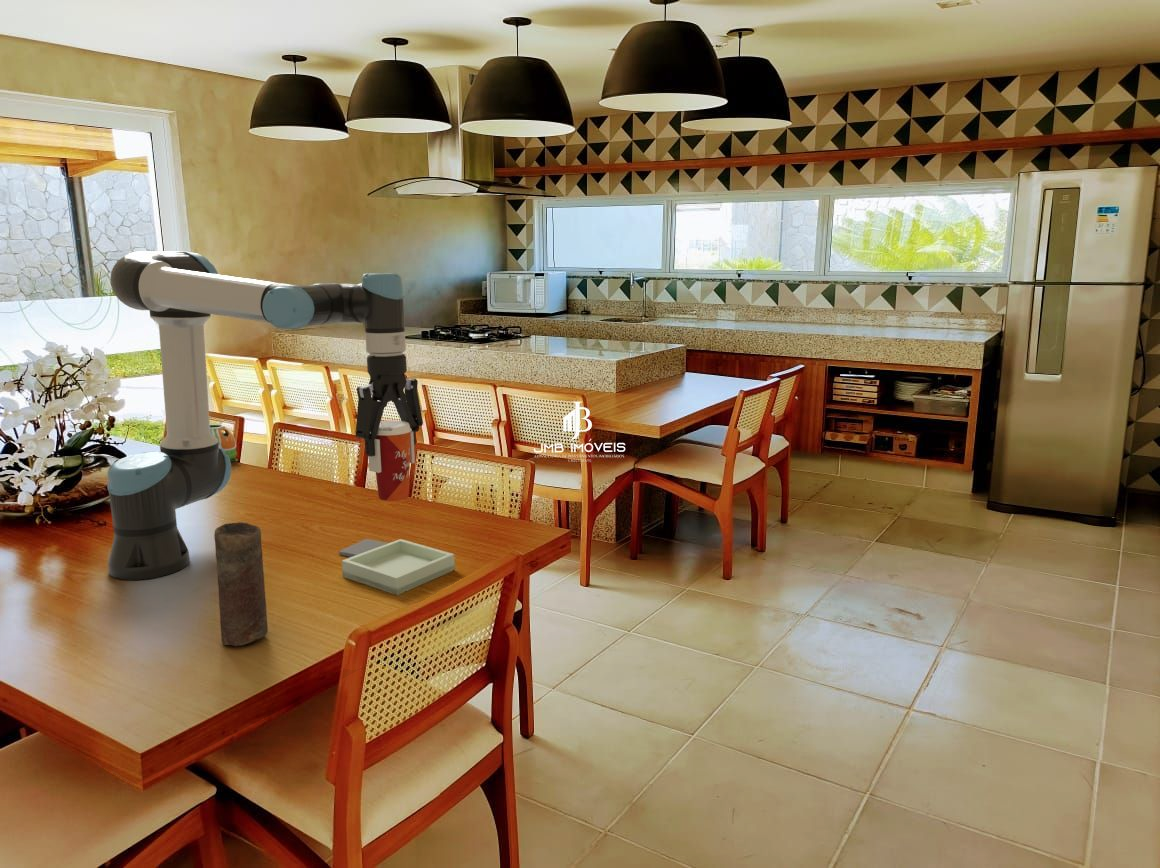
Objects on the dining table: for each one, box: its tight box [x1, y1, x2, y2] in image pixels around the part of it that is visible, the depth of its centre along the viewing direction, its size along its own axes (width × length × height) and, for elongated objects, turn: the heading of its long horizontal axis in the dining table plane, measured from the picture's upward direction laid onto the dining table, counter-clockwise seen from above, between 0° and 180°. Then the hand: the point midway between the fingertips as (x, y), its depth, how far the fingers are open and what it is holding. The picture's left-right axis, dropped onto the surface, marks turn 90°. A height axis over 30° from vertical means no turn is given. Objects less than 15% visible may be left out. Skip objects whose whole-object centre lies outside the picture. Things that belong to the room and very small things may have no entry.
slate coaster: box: [338, 538, 389, 558], centre depth 183 cm, size 9×9×1 cm
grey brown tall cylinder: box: [213, 521, 269, 647], centre depth 139 cm, size 8×7×20 cm
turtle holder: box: [210, 423, 239, 463], centre depth 258 cm, size 12×18×12 cm
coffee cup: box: [370, 420, 412, 502], centre depth 165 cm, size 8×8×15 cm
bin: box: [341, 538, 456, 596], centre depth 170 cm, size 16×16×4 cm
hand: (392, 466), depth 166 cm, fingers closed on coffee cup, 8 cm apart
